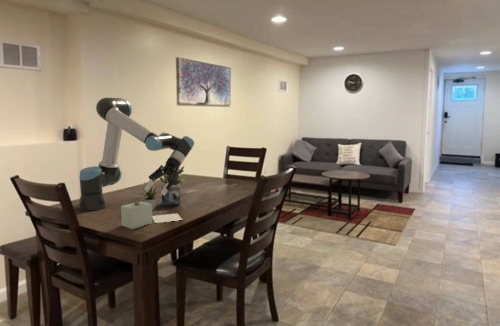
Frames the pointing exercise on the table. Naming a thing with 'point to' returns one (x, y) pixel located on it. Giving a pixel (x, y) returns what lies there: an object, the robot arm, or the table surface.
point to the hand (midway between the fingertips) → (153, 192)
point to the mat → (166, 218)
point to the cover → (136, 214)
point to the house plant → (150, 197)
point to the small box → (171, 197)
